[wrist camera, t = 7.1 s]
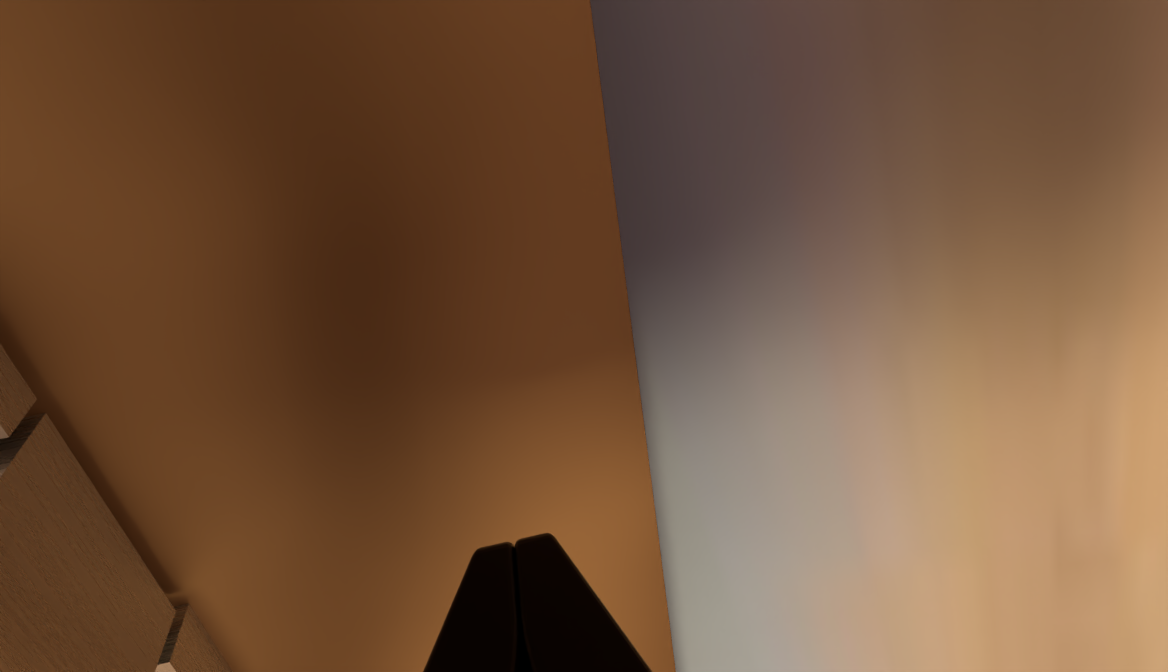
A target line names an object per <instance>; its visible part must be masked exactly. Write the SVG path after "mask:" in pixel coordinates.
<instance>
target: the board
mask: <svg viewBox="0 0 1168 672" xmlns="http://www.w3.org/2000/svg"><path fill="white" fill-rule="evenodd" d="M0 344H1V345H2V347H3V348H4V350H5V351H6V353H7V354H8V356H9V357H10V359H11V360H12V362H13V364H14V365H15V367H16V368H17V370H18V371H19V373H20V374H21V376H22V377H23V379H24V380H25V382H26V383H27V385H28V386H29V388H30V389H31V391H32V392H33V394H34V396H35V397H36V399H37V400H36V401H35V403H34V404H33V405H32V407H31V408H30V409H29V411H28V412H27V413H26V415H25V416H24V417H28V416H33V415H38V414H43V413H46V414H47V415H48V417H49V418H50V420H51V421H52V423H53V425H54V426H55V428H56V429H57V431H58V432H59V434H60V435H61V437H62V438H63V440H64V441H65V443H66V444H67V446H68V447H69V449H70V450H71V452H72V453H73V455H74V457H75V458H76V460H77V461H78V463H79V464H80V466H81V467H82V469H83V470H84V472H85V473H86V475H87V476H88V478H89V479H90V481H91V482H92V484H93V485H94V487H95V489H96V490H97V492H98V493H99V495H100V496H101V498H102V499H103V501H104V502H105V504H106V505H107V507H108V508H109V510H110V511H111V513H112V514H113V516H114V517H115V519H116V521H117V522H118V524H119V525H120V527H121V528H122V530H123V531H124V533H125V534H126V536H127V537H128V539H129V540H130V542H131V543H132V545H133V546H134V548H135V549H136V551H137V553H138V554H139V556H140V557H141V559H142V560H143V562H144V563H145V565H146V566H147V568H148V569H149V571H150V572H151V574H152V575H153V577H154V578H155V580H156V581H157V583H158V585H159V586H160V588H161V589H162V591H163V592H164V594H165V595H166V597H167V598H168V600H169V601H170V603H171V604H172V606H177V605H182V604H186V603H189V604H190V605H191V607H192V608H193V610H194V611H195V613H196V615H197V616H198V618H199V619H200V621H201V622H202V624H203V626H204V627H205V629H206V630H207V632H208V633H209V635H210V637H211V638H212V640H213V641H214V643H215V644H216V646H217V648H218V649H219V651H220V652H221V654H222V655H223V657H224V659H225V660H226V662H227V663H228V665H229V666H230V668H231V670H232V671H233V672H423V670H424V668H425V666H426V663H427V661H428V659H429V656H430V654H431V651H432V649H433V647H434V644H435V642H436V640H437V637H438V635H439V633H440V630H441V628H442V625H443V623H444V621H445V618H446V616H447V614H448V611H449V609H450V607H451V604H452V602H453V600H454V597H455V595H456V592H457V590H458V588H459V585H460V583H461V581H462V578H463V576H464V574H465V571H466V569H467V566H468V564H469V562H470V559H471V557H472V555H473V553H474V552H475V551H476V550H477V549H478V548H481V547H485V546H490V545H494V544H499V543H503V542H510V543H512V544H513V545H514V547H515V543H516V541H517V540H518V539H521V538H525V537H530V536H534V535H539V534H543V533H551V534H552V535H553V536H554V537H555V538H556V539H557V540H558V542H559V543H560V545H561V546H562V547H563V549H564V550H565V551H566V553H567V554H568V556H569V557H570V558H571V560H572V561H573V562H574V564H575V565H576V567H577V568H578V569H579V571H580V572H581V574H582V575H583V576H584V578H585V579H586V580H587V582H588V583H589V585H590V586H591V587H592V589H593V590H594V591H595V593H596V594H597V596H598V597H599V598H600V600H601V601H602V603H603V604H604V605H605V607H606V608H607V609H608V611H609V612H610V614H611V615H612V616H613V618H614V619H615V621H616V622H617V623H618V625H619V626H620V627H621V629H622V630H623V632H624V633H625V634H626V636H627V637H628V638H629V640H630V641H631V643H632V644H633V645H634V647H635V648H636V650H637V651H638V652H639V654H640V655H641V656H642V658H643V659H644V661H645V662H646V663H647V665H648V666H649V667H650V669H651V670H652V672H676V671H675V663H674V655H673V648H672V640H671V632H670V624H669V616H668V608H667V601H666V593H665V585H664V577H663V569H662V561H661V554H660V546H659V538H658V530H657V522H656V514H655V507H654V499H653V491H652V483H651V475H650V467H649V459H648V452H647V444H646V436H645V428H644V420H643V412H642V405H641V397H640V389H639V381H638V373H637V365H636V358H635V350H634V342H633V334H632V326H631V318H630V311H629V303H628V295H627V287H626V279H625V271H624V264H623V256H622V248H621V240H620V232H619V224H618V217H617V209H616V201H615V193H614V185H613V177H612V170H611V162H610V154H609V146H608V138H607V130H606V123H605V115H604V107H603V99H602V91H601V83H600V76H599V68H598V60H597V52H596V44H595V36H594V29H593V21H592V13H591V5H590V0H0Z"/></svg>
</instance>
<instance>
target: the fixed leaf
mask: <svg viewBox="0 0 1168 672" xmlns="http://www.w3.org/2000/svg"><path fill="white" fill-rule="evenodd" d="M173 607H174V609H175V610H176V612H175V615H174V618H173V621H172V624H171V627H170V630H169V633H168V636H167V639H166V641H165V644H164V647H163V650H162V653H161V656H160V659H159V662H158V665H157V668H156V670H155V672H233V671H232V670H231V668H230V666H229V665H228V663H227V662H226V660H225V659H224V657H223V655H222V654H221V652H220V651H219V649H218V648H217V646H216V644H215V643H214V641H213V640H212V638H211V637H210V635H209V633H208V632H207V630H206V629H205V627H204V626H203V624H202V622H201V621H200V619H199V618H198V616H197V615H196V613H195V611H194V610H193V608H192V607H191V605H190V604H189V603H186V604H182V605H177V606H173Z"/></svg>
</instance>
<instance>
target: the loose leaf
mask: <svg viewBox="0 0 1168 672" xmlns="http://www.w3.org/2000/svg"><path fill="white" fill-rule="evenodd" d="M36 400H37V399H36V397H35V396H34V394H33V392H32V391H31V389H30V388H29V386H28V385H27V383H26V382H25V380H24V379H23V377H22V376H21V374H20V373H19V371H18V370H17V368H16V367H15V365H14V364H13V362H12V360H11V359H10V357H9V356H8V354H7V353H6V351H5V350H4V348H3V347H2V345H1V344H0V672H155V670H156V668H157V665H158V662H159V659H160V656H161V653H162V650H163V647H164V644H165V641H166V639H167V636H168V633H169V630H170V627H171V624H172V621H173V618H174V615H175V612H176V610H175V609H174V607H173V606H172V604H171V603H170V601H169V600H168V598H167V597H166V595H165V594H164V592H163V591H162V589H161V588H160V586H159V585H158V583H157V581H156V580H155V578H154V577H153V575H152V574H151V572H150V571H149V569H148V568H147V566H146V565H145V563H144V562H143V560H142V559H141V557H140V556H139V554H138V553H137V551H136V549H135V548H134V546H133V545H132V543H131V542H130V540H129V539H128V537H127V536H126V534H125V533H124V531H123V530H122V528H121V527H120V525H119V524H118V522H117V521H116V519H115V517H114V516H113V514H112V513H111V511H110V510H109V508H108V507H107V505H106V504H105V502H104V501H103V499H102V498H101V496H100V495H99V493H98V492H97V490H96V489H95V487H94V485H93V484H92V482H91V481H90V479H89V478H88V476H87V475H86V473H85V472H84V470H83V469H82V467H81V466H80V464H79V463H78V461H77V460H76V458H75V457H74V455H73V453H72V452H71V450H70V449H69V447H68V446H67V444H66V443H65V441H64V440H63V438H62V437H61V435H60V434H59V432H58V431H57V429H56V428H55V426H54V425H53V423H52V421H51V420H50V418H49V417H48V415H47V414H46V413H43V414H38V415H33V416H28V417H24V416H25V415H26V413H27V412H28V411H29V409H30V408H31V407H32V405H33V404H34V403H35V401H36Z"/></svg>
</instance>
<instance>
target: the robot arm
mask: <svg viewBox="0 0 1168 672" xmlns="http://www.w3.org/2000/svg"><path fill="white" fill-rule="evenodd" d="M423 672H652V670H651V669H650V667H649V666H648V665H647V663H646V662H645V661H644V659H643V658H642V656H641V655H640V654H639V652H638V651H637V650H636V648H635V647H634V645H633V644H632V643H631V641H630V640H629V638H628V637H627V636H626V634H625V633H624V632H623V630H622V629H621V627H620V626H619V625H618V623H617V622H616V621H615V619H614V618H613V616H612V615H611V614H610V612H609V611H608V609H607V608H606V607H605V605H604V604H603V603H602V601H601V600H600V598H599V597H598V596H597V594H596V593H595V591H594V590H593V589H592V587H591V586H590V585H589V583H588V582H587V580H586V579H585V578H584V576H583V575H582V574H581V572H580V571H579V569H578V568H577V567H576V565H575V564H574V562H573V561H572V560H571V558H570V557H569V556H568V554H567V553H566V551H565V550H564V549H563V547H562V546H561V545H560V543H559V542H558V540H557V539H556V538H555V537H554V536H553V535H552V534H551V533H543V534H539V535H534V536H530V537H525V538H521V539H518V540H517V541H516V543H515V547H514V545H513V544H512V543H510V542H503V543H499V544H494V545H490V546H485V547H481V548H478V549H477V550H476V551H475V552H474V553H473V555H472V557H471V559H470V562H469V564H468V566H467V569H466V571H465V574H464V576H463V578H462V581H461V583H460V585H459V588H458V590H457V592H456V595H455V597H454V600H453V602H452V604H451V607H450V609H449V611H448V614H447V616H446V618H445V621H444V623H443V625H442V628H441V630H440V633H439V635H438V637H437V640H436V642H435V644H434V647H433V649H432V651H431V654H430V656H429V659H428V661H427V663H426V666H425V668H424V670H423Z"/></svg>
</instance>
